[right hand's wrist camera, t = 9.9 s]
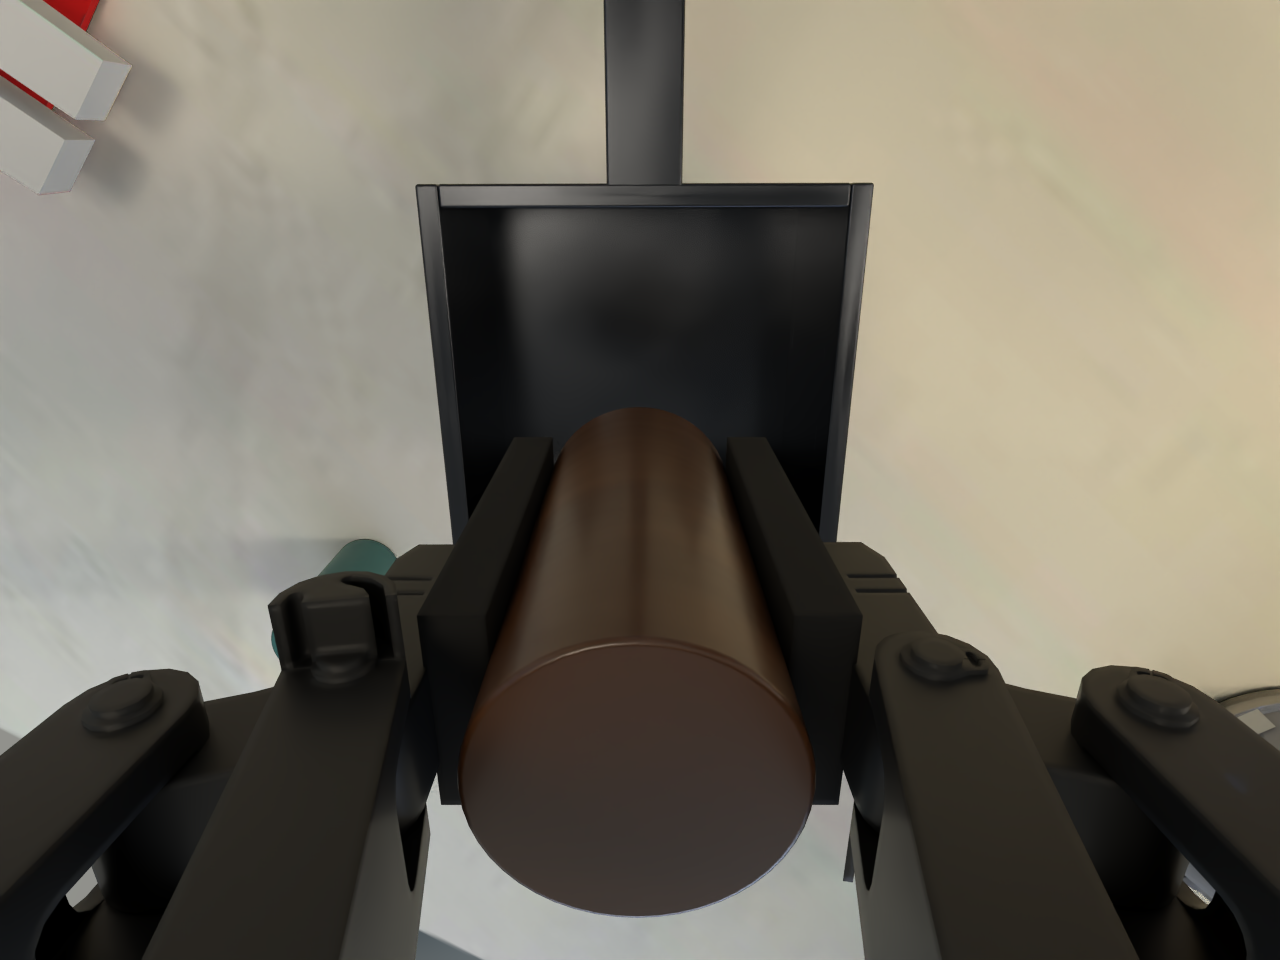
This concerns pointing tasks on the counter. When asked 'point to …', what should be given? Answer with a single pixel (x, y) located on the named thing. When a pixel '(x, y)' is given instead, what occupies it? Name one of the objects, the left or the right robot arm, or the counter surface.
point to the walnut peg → (637, 688)
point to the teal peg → (358, 562)
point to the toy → (51, 89)
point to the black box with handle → (646, 293)
